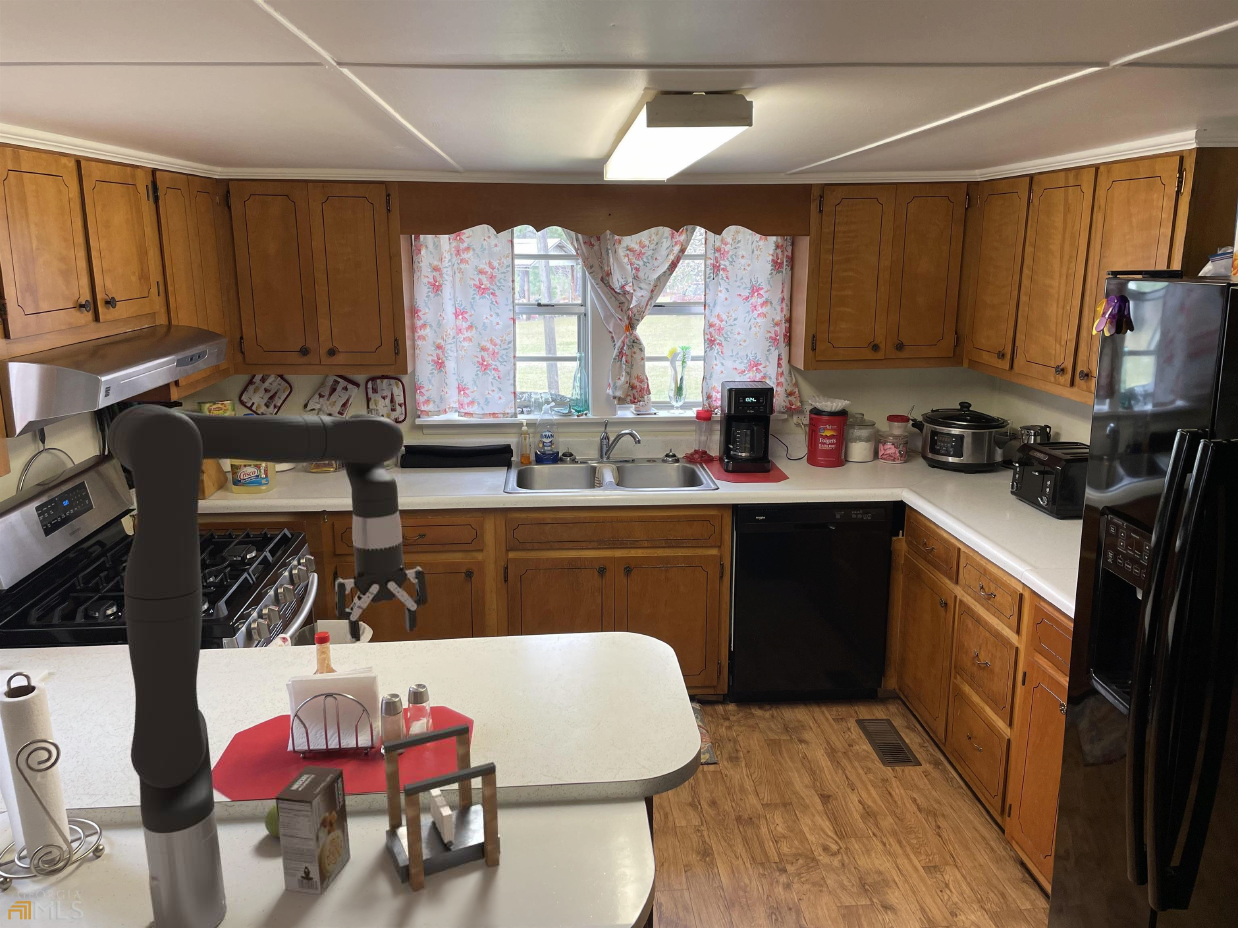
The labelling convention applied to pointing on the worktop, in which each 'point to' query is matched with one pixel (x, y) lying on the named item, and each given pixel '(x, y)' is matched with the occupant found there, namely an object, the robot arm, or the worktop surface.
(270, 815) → the green eggplant
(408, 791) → the grey crossbeam plank
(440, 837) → the breaker panel
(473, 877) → the worktop surface
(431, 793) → the bar
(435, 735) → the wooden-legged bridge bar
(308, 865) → the coffee box
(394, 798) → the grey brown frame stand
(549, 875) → the worktop surface
